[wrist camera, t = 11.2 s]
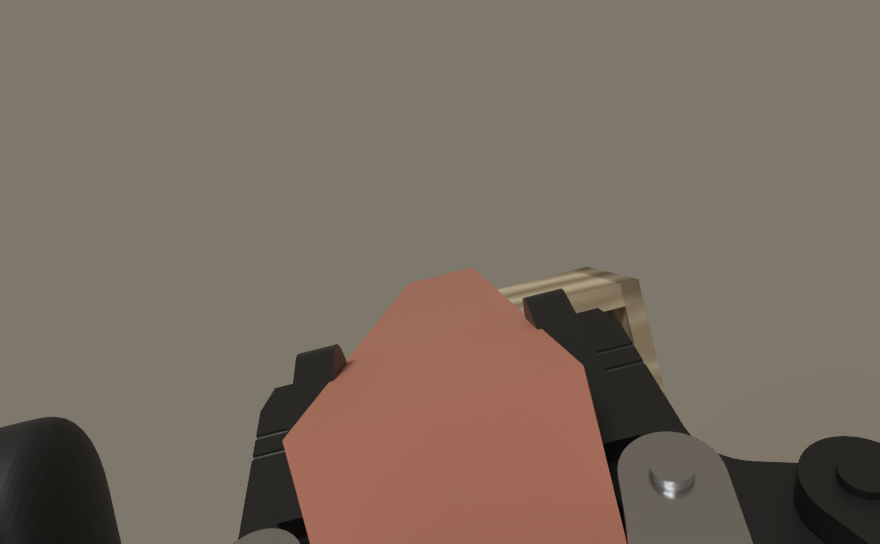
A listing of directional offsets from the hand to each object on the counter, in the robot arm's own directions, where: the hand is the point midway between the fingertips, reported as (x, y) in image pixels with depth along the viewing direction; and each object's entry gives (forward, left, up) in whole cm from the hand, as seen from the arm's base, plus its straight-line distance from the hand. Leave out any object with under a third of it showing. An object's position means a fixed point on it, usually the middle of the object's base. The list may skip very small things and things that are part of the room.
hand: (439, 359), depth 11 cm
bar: (-4, +7, -3) cm, 9 cm away
